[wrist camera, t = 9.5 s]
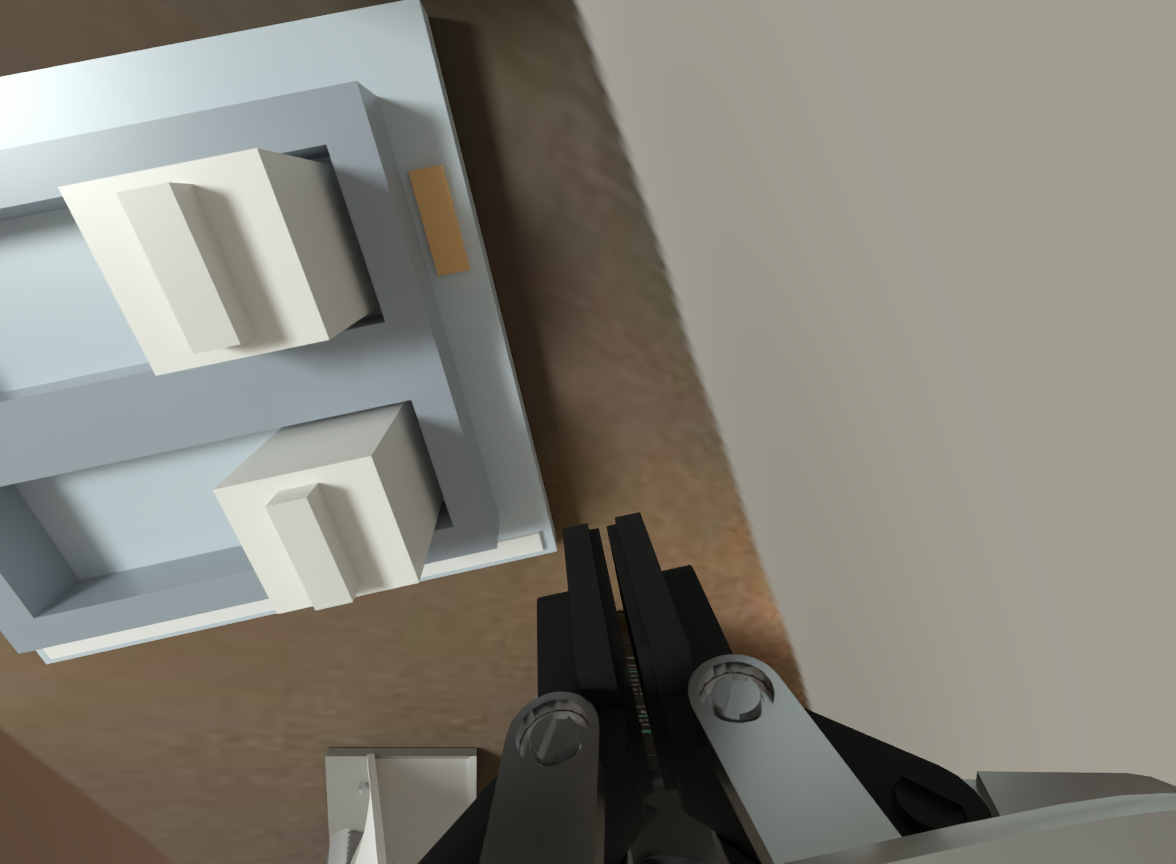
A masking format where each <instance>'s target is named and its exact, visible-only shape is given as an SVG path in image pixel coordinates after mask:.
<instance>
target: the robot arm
mask: <svg viewBox="0 0 1176 864" xmlns="http://www.w3.org/2000/svg"><path fill="white" fill-rule="evenodd" d="M615 521H616V524H615V525H610V526H607V531H608V536H609V541H610V546H611V551H612V556H613V560H614V565H615V570H616V575H617V580H618V585H619V590H620V595H621V600H622V605H623V610H624V614H625V619H626V624H627V629H628V634H629V638H630V643H631V647H632V651H633V656H634V660H635V664H636V669H637V673H638V677H639V682H640V686H641V690H642V695H643V699H644V703H645V708H646V712H647V716H648V721H649V725H650V729H651V733H652V738H653V742H654V746H655V751H656V755H657V759H658V764H659V768H660V772H661V777H662V781H663V785H664V789H665V792H669V791H673V790H677V792H678V796H679V800H680V803H681V807H682V811H685V813H686V814H688V815H689V816H691V817H692V818H694V819H695V820H697V821H699V822H700V823H702V824H703V825H705V826H706V827H708V828H709V829H710V833H711V836H712V840H713V843H714V846H715V848H716V850H717V852H718V855H719V857H720V859H721V861H722V864H1176V786H1174V785H1171V784H1168V783H1166V782H1163V781H1160V780H1158V779H1155V778H1153V777H1149V776H1143V775H1136V774H1130V773H1072V772H986V771H978V772H977V779H976V780H962V779H960V777H958V776H957V775H955V774H953V773H952V772H950V771H948V770H946V769H944V768H943V767H940V766H939V765H937V764H934V763H932V762H930V761H927V760H925V759H922V758H920V757H918V756H915V755H913V754H910V753H908V752H906V751H903V750H901V749H899V748H897V747H894V746H892V745H890V744H887V743H885V742H882V741H880V740H878V739H875V738H873V737H871V736H868V735H866V734H864V733H861V732H859V731H857V730H854V729H852V728H850V727H847V726H845V725H842V724H840V723H838V722H835V721H833V720H831V719H828V718H826V717H824V716H821V715H819V714H817V713H814V712H812V711H810V710H807V709H805V708H803V707H802V705H801V704H800V703H799V701H798V700H797V699H796V698H795V696H794V695H793V694H792V692H791V691H790V690H789V688H788V687H787V686H786V684H785V683H784V682H783V680H782V679H781V678H780V677H779V675H778V674H777V673H776V672H775V671H774V670H773V669H772V668H771V667H770V666H769V665H767V664H765V663H763V662H761V661H760V660H758V659H756V658H752V657H749V656H745V655H733V654H732V651H731V649H730V647H729V645H728V643H727V641H726V638H725V636H724V634H723V632H722V630H721V628H720V625H719V623H718V621H717V619H716V617H715V615H714V612H713V610H712V608H711V606H710V604H709V602H708V599H707V597H706V595H705V593H704V591H703V589H702V586H701V584H700V582H699V580H698V578H697V576H696V573H695V571H694V569H693V568H692V566H691V565H688V566H683V567H678V568H674V569H669V570H665V571H661V568H660V565H659V563H658V560H657V557H656V554H655V552H654V549H653V546H652V544H651V541H650V538H649V535H648V533H647V530H646V527H645V525H644V522H643V519H642V516H641V514H640V512H639V513H634V514H629V515H625V516H620V517H615ZM563 539H564V550H565V560H566V570H567V581H568V592H563V593H558V594H554V595H549V596H544V597H540V598H538V599H537V653H538V698H536V699H534V700H532V701H531V702H529V703H528V704H527V705H526V706H525V707H523V708H522V709H521V710H520V711H519V712H518V714H517V715H516V716H515V718H514V719H513V720H512V722H511V724H510V727H509V730H508V732H507V735H506V740H505V744H504V749H503V754H502V758H501V763H500V768H499V773H498V775H497V776H496V777H495V778H494V779H493V780H492V781H491V783H490V784H489V785H488V786H487V787H486V788H485V789H484V790H483V791H482V793H481V794H480V795H479V796H478V797H477V798H476V799H475V800H474V801H473V803H472V804H471V805H470V806H469V807H468V808H467V809H466V810H465V811H464V813H463V814H462V815H461V816H460V817H459V818H458V819H457V820H456V821H455V823H454V824H453V825H452V826H451V827H450V828H449V829H448V830H447V831H446V833H445V834H444V835H443V836H442V837H441V838H440V839H439V840H438V841H437V843H436V844H435V845H434V846H433V847H432V848H431V849H430V850H429V851H428V853H427V854H426V855H425V856H424V857H423V858H422V859H421V860H420V861H419V863H418V864H633V858H632V852H631V846H632V844H633V843H634V841H635V839H636V838H637V836H638V835H639V833H640V831H641V830H642V828H643V827H644V825H645V824H646V820H647V815H646V810H645V805H644V800H643V797H647V796H651V795H655V792H654V787H653V782H652V777H651V772H650V768H649V763H648V758H647V753H646V749H645V744H644V739H643V734H642V730H641V725H640V720H639V715H638V711H637V706H636V701H635V696H634V691H633V687H632V682H631V677H630V672H629V668H628V663H627V658H626V654H625V649H624V644H623V640H622V635H621V630H620V626H619V621H618V616H617V611H616V607H615V602H614V597H613V593H612V588H611V583H610V579H609V574H608V569H607V565H606V560H605V555H604V551H603V546H602V541H601V537H600V532H599V528H596V529H592V530H589V528H588V524H583V525H578V526H573V527H569V528H564V529H563Z"/></svg>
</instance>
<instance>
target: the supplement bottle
mask: <svg viewBox="0 0 1176 864" xmlns="http://www.w3.org/2000/svg"><path fill="white" fill-rule="evenodd" d="M617 616H618V621H619V626H620V630H621V635H622V640H623V644H624V649H625V654H626V658H627V663H628V668H629V672H630V677H631V682H632V687H633V691H634V696H635V701H636V706H637V711H638V715H639V720H640V725H641V730H642V734H643V739H644V744H645V749H646V753H647V758H648V763H649V768H650V772H651V777H652V782H653V787H654V792H655V795H651V796H647V797H643V800H644V805H645V810H646V815H647V820H646V824H645V825H644V827H643V828H642V830H641V831H640V833H639V835H638V836H637V838H636V839H635V841H634V843H633V844H632V846H631V852H632V858H633V864H722V861H721V859H720V857H719V855H718V852H717V850H716V848H715V846H714V843H713V840H712V836H711V833H710V829H709V828H708V827H706V826H705V825H703V824H702V823H700V822H699V821H697V820H695V819H694V818H692V817H691V816H689V815H688V814H686V813H685V811H682V807H681V803H680V800H679V796H678V792H677V790H673V791H669V792H665V789H664V785H663V781H662V777H661V772H660V768H659V764H658V759H657V755H656V751H655V746H654V742H653V738H652V733H651V729H650V725H649V721H648V716H647V712H646V708H645V703H644V699H643V695H642V690H641V686H640V682H639V677H638V673H637V669H636V664H635V660H634V656H633V651H632V647H631V643H630V638H629V634H628V629H627V624H626V619H625V614H624V613H617Z"/></svg>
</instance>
